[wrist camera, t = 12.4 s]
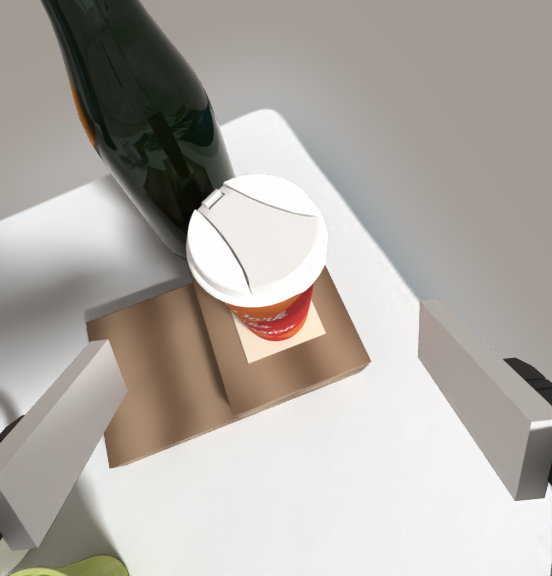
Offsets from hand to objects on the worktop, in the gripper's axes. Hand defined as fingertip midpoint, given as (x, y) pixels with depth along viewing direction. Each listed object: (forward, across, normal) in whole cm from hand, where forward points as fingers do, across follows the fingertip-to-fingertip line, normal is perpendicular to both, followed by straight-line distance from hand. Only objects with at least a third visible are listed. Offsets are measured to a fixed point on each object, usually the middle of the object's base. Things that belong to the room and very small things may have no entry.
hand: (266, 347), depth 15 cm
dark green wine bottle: (+29, -8, 0) cm, 30 cm away
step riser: (+18, -6, -11) cm, 22 cm away
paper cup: (+15, 0, -6) cm, 16 cm away
